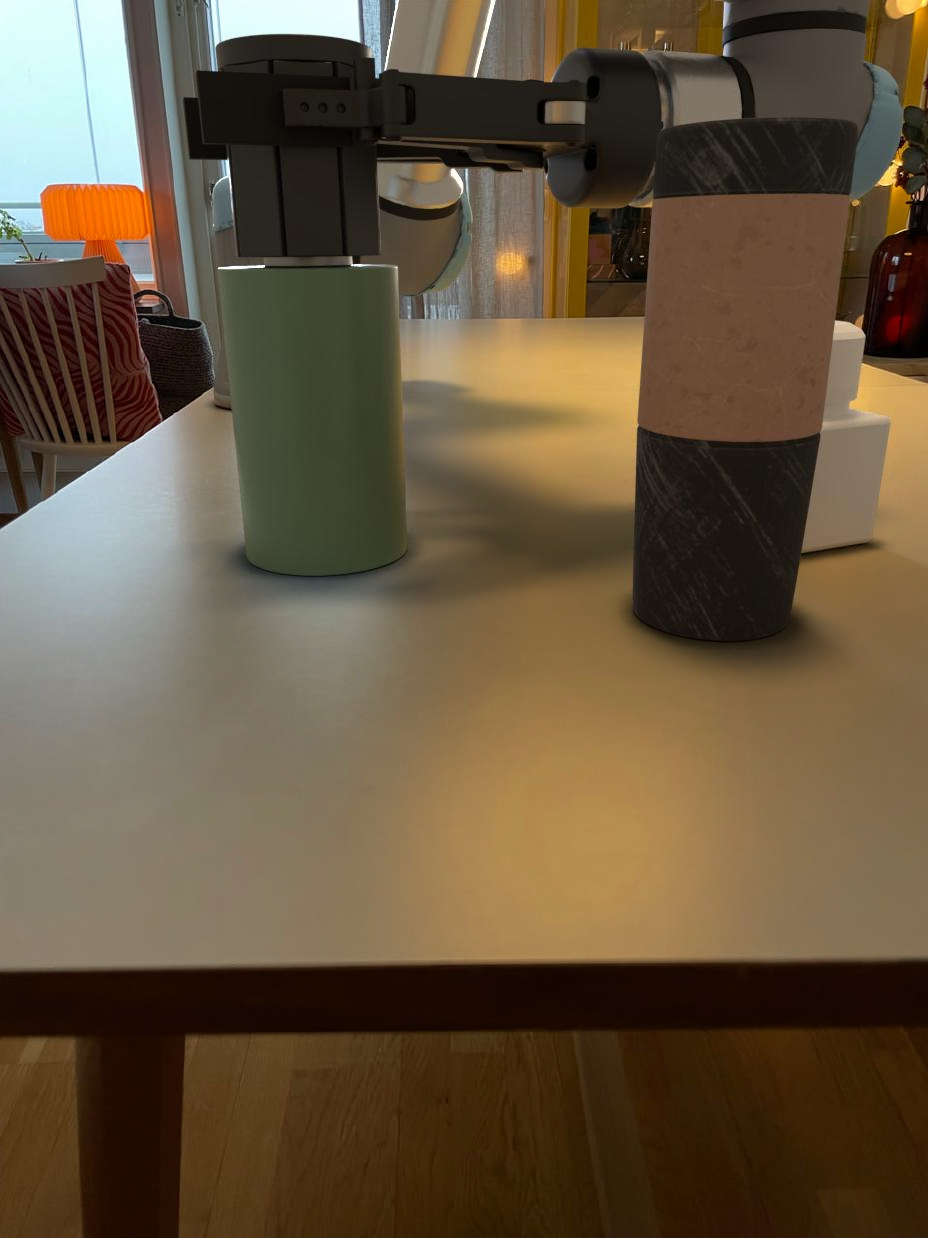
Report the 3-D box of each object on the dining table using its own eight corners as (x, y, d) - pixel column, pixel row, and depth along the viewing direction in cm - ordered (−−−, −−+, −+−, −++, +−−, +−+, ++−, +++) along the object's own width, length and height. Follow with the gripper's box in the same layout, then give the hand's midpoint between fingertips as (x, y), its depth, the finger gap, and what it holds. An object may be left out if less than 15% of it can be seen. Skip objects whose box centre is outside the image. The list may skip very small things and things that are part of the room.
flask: (243, 534, 56) (197, 85, 47) (391, 522, 58) (374, 90, 49) (250, 583, 48) (196, 52, 39) (422, 567, 50) (408, 60, 41)
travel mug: (806, 650, 39) (881, 112, 32) (622, 637, 41) (653, 120, 33) (786, 589, 46) (843, 135, 39) (629, 579, 48) (655, 141, 40)
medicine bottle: (694, 526, 56) (711, 318, 52) (787, 512, 59) (812, 313, 55) (774, 560, 50) (801, 327, 46) (874, 543, 53) (910, 321, 48)
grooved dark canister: (232, 256, 49) (214, 60, 46) (367, 254, 51) (359, 65, 48) (237, 257, 43) (216, 30, 40) (391, 255, 45) (383, 36, 41)
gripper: (734, 199, 43) (224, 197, 36) (552, 214, 60) (186, 214, 53) (751, 7, 40) (202, -36, 33) (555, 81, 58) (169, 63, 51)
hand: (193, 119), depth 43 cm, fingers closed on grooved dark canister, 7 cm apart
